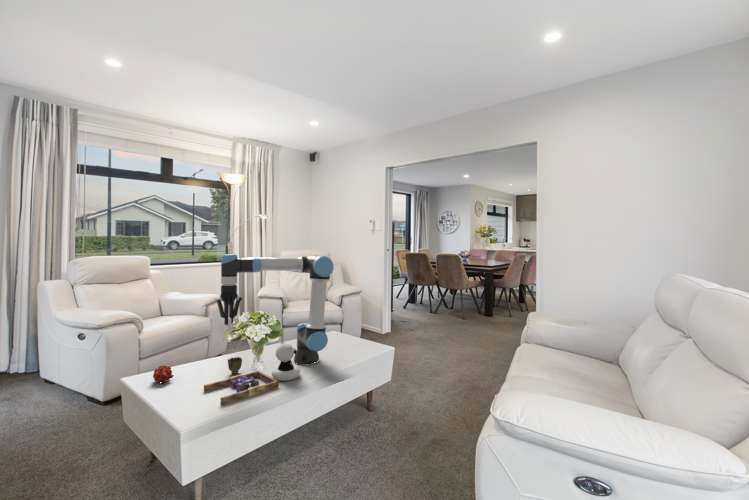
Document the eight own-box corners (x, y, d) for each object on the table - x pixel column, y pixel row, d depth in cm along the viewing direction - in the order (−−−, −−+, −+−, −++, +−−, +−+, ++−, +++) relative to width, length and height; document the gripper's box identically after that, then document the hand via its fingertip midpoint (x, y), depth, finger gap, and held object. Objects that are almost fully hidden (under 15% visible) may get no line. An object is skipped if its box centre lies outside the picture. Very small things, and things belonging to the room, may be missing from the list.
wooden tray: (258, 376, 187) (258, 369, 187) (278, 387, 173) (278, 380, 173) (203, 391, 167) (203, 384, 167) (221, 405, 153) (221, 397, 153)
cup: (225, 373, 191) (225, 358, 191) (238, 370, 196) (238, 355, 196) (230, 376, 186) (231, 361, 186) (244, 373, 191) (244, 358, 191)
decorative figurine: (305, 377, 186) (305, 340, 186) (280, 384, 176) (280, 345, 176) (291, 370, 197) (291, 334, 197) (266, 376, 187) (267, 339, 187)
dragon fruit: (163, 380, 184) (165, 391, 175) (147, 373, 180) (149, 384, 170) (174, 366, 186) (177, 376, 177) (159, 359, 182) (161, 369, 172)
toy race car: (245, 381, 181) (245, 369, 181) (259, 390, 170) (259, 377, 170) (226, 386, 174) (227, 373, 174) (240, 396, 163) (240, 382, 163)
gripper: (238, 283, 185) (237, 327, 185) (213, 284, 176) (212, 331, 176) (244, 284, 180) (244, 330, 180) (219, 286, 171) (218, 334, 171)
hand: (228, 330), depth 178 cm, fingers closed
